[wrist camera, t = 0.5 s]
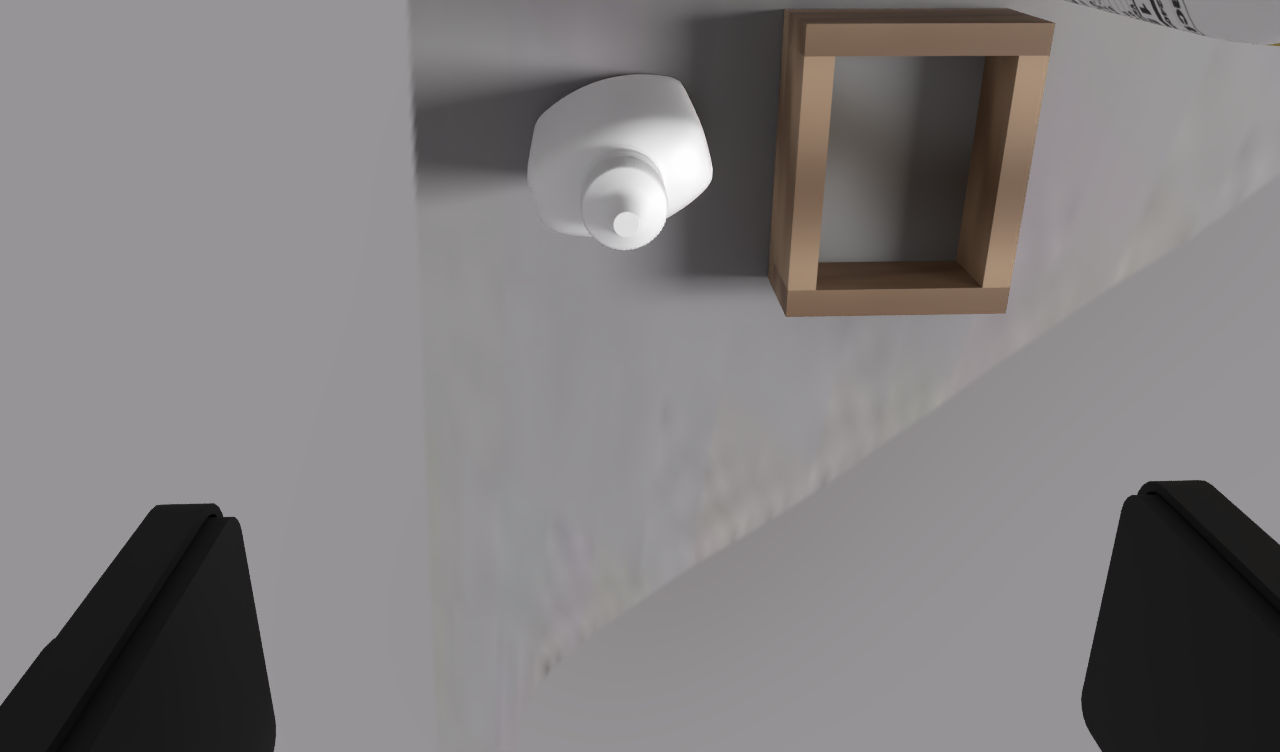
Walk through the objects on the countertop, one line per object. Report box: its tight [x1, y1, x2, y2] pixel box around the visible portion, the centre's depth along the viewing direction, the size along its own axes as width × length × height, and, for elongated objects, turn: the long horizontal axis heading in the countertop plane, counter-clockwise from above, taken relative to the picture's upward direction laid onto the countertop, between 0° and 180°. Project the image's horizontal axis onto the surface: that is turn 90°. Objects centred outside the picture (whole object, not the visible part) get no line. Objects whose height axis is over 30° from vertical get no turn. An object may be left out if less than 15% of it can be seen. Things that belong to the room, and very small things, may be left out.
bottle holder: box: [768, 9, 1055, 317], centre depth 37 cm, size 10×8×4 cm
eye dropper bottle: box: [527, 74, 713, 251], centre depth 32 cm, size 4×6×12 cm
